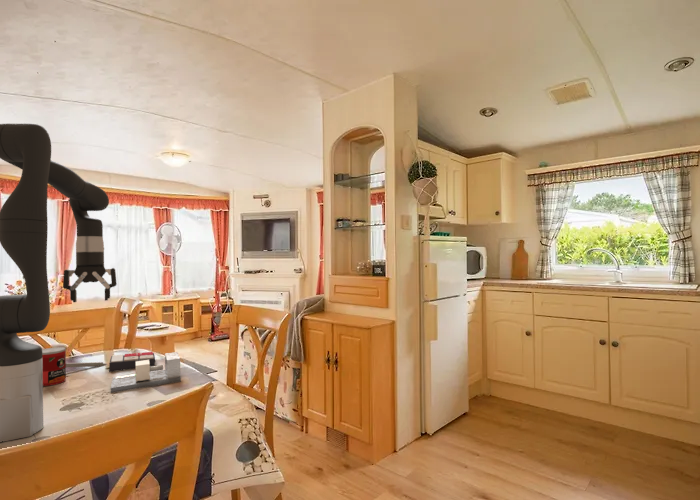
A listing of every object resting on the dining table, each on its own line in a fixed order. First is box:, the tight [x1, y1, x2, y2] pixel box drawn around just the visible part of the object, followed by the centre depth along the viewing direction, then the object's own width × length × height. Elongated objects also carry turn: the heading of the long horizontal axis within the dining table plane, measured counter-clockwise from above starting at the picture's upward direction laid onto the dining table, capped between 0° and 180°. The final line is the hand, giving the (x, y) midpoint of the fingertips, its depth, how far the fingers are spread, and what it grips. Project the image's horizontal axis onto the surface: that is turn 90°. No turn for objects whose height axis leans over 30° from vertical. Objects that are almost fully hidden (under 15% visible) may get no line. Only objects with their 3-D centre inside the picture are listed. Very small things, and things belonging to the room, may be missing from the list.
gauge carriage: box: [135, 360, 164, 381], centre depth 133 cm, size 10×8×5 cm
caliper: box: [66, 361, 108, 369], centre depth 146 cm, size 20×1×6 cm, turn 137°
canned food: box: [42, 346, 67, 387], centre depth 133 cm, size 8×8×11 cm
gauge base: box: [110, 351, 182, 394], centre depth 131 cm, size 12×20×8 cm, turn 119°
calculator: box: [108, 351, 156, 373], centre depth 152 cm, size 11×4×15 cm
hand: (90, 301), depth 127 cm, fingers open, 8 cm apart
